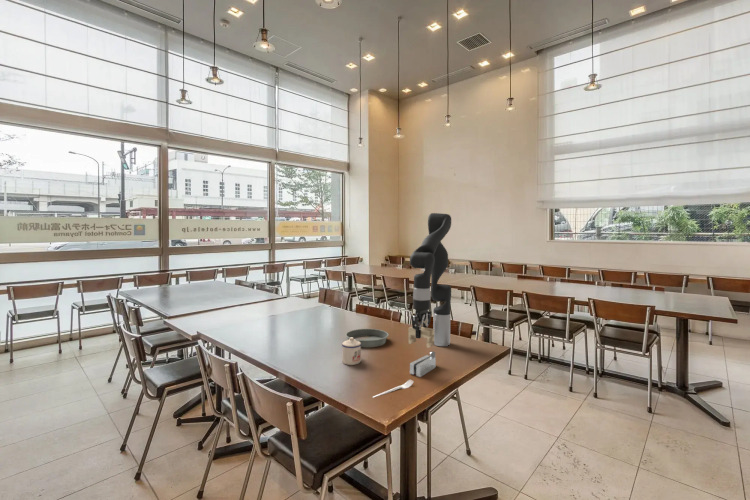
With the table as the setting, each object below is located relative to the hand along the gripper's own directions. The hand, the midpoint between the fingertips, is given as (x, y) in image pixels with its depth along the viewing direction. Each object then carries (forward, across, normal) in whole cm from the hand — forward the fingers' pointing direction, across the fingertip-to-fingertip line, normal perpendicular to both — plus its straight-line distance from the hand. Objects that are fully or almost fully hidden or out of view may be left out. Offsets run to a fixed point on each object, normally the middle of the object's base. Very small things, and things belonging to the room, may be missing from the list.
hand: (421, 336), depth 157 cm
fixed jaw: (+16, +2, -1) cm, 16 cm away
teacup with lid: (+16, -7, +33) cm, 38 cm away
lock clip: (+3, 0, 0) cm, 3 cm away
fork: (+17, -22, 0) cm, 28 cm away
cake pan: (+17, +22, +47) cm, 54 cm away
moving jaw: (+16, +4, +1) cm, 16 cm away
